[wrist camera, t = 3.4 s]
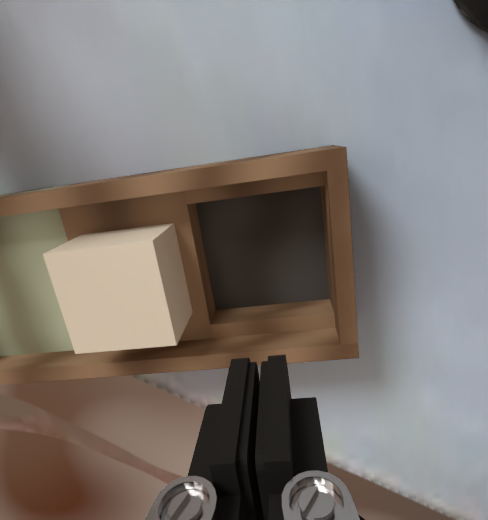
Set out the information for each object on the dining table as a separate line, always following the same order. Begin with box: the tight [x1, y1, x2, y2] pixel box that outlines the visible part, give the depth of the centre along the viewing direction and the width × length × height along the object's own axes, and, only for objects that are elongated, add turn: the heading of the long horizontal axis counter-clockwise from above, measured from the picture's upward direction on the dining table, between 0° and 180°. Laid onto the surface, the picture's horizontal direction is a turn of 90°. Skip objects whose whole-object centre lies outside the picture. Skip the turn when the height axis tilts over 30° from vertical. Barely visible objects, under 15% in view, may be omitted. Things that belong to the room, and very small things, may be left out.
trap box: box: [0, 145, 359, 385], centre depth 24 cm, size 26×12×4 cm, turn 98°
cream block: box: [43, 223, 193, 354], centre depth 22 cm, size 6×6×4 cm
